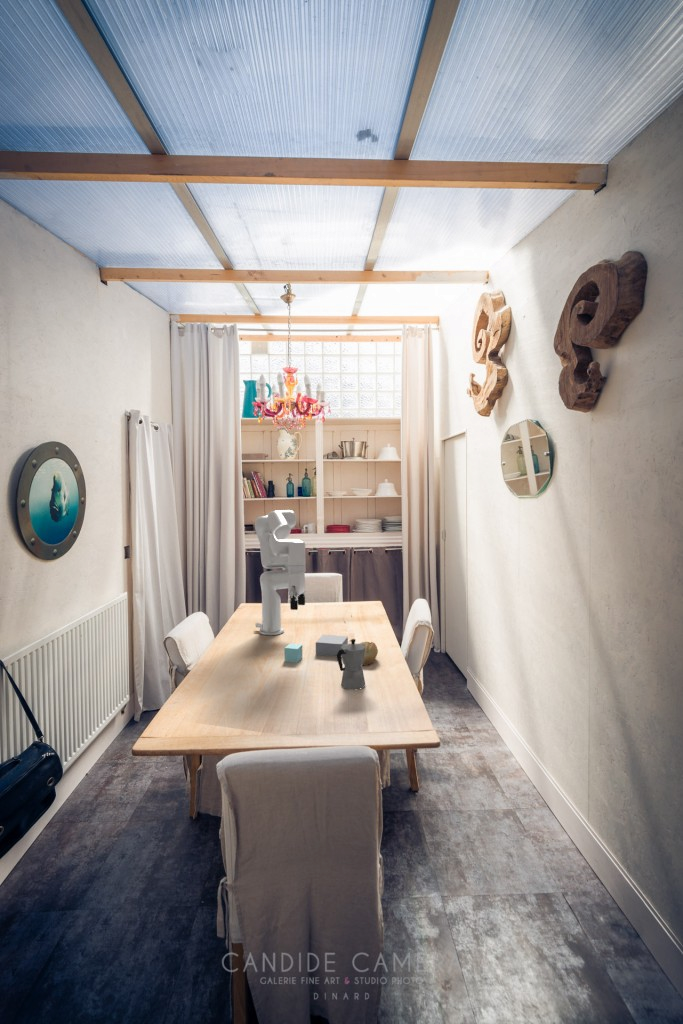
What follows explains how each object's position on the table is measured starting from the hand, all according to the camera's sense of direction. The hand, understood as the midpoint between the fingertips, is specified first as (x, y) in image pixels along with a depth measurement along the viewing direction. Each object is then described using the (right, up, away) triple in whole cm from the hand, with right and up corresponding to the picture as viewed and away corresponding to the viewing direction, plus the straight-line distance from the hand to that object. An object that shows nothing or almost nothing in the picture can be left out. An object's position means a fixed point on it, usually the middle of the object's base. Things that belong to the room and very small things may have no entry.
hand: (297, 607), depth 236 cm
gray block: (+15, -22, +7) cm, 28 cm away
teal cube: (-2, -22, -4) cm, 23 cm away
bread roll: (+30, -23, -4) cm, 38 cm away
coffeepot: (+23, -24, -33) cm, 47 cm away
